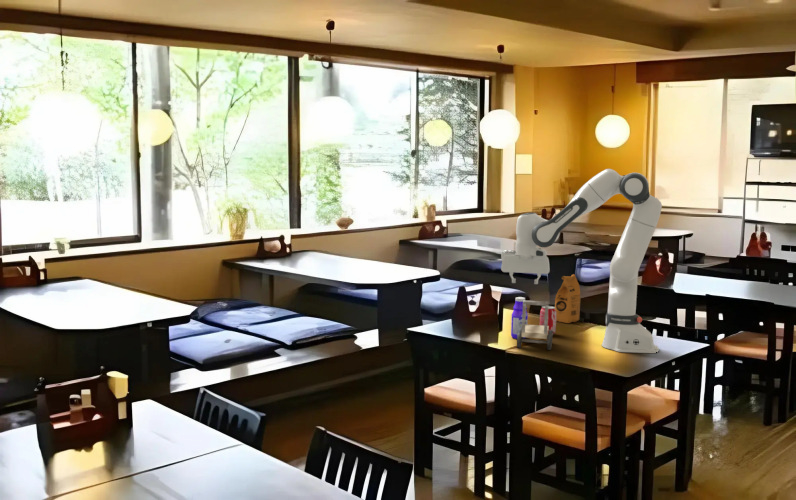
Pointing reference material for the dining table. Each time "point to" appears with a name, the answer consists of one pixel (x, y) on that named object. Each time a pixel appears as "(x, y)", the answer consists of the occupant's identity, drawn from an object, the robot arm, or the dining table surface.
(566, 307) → the coffee package
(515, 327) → the bottle
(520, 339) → the trolley
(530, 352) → the dining table surface
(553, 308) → the soda can
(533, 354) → the dining table surface
